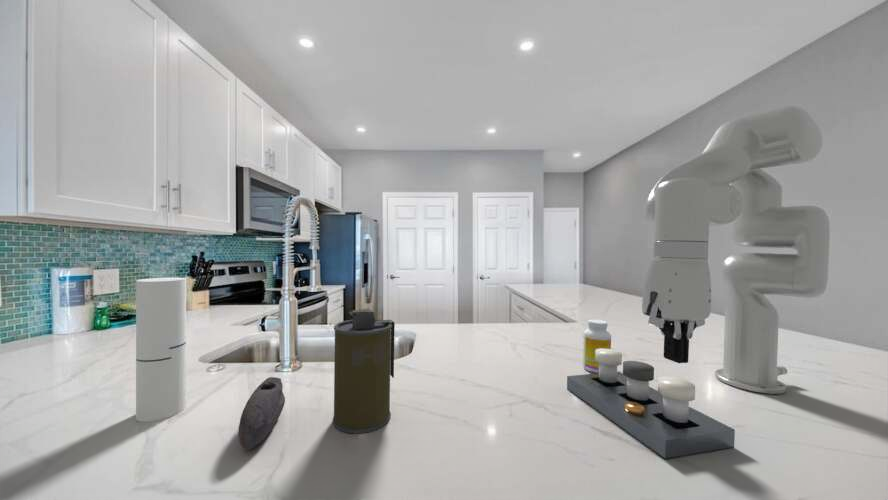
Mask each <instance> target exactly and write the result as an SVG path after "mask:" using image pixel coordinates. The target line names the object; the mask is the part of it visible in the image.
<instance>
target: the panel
mask: <svg viewBox="0 0 888 500" xmlns="http://www.w3.org/2000/svg"><path fill="white" fill-rule="evenodd" d="M566 389H567V390H568V391H569V392H570V393H571V394H573V395H575V396H576V397H577V398H579V399H580V400H581V401H583V402H584V403H585V404H587V405H588V406H590V407H591V408H592V407H593V408H592V409H594V410H595V409H596V410H595V411H596V412H598V413H599V412H600V413H599V414H601V415H602V414H603V415H602V416H604V417H605V416H606V417H607V418H606V417H605V418H606V419H608V420H609V419H610V420H611V421H610V420H609V421H610V422H612V423H613V422H614V423H613V424H615V425H616V426H617V427H619V428H620V429H621V430H623V431H624V432H626V433H628V434H629V435H630V436H631V437H633V438H634V439H635V440H637V441H638V442H640V444H642V445H644V446H645V447H647V448H648V449H650V451H652V452H654V454H656V455H658V456H659V457H660V458H662V459H663V460H665V461H666V460H671V459H677V458H682V457H688V456H695V455H698V454H706V453H711V452H718V451H723V450H729V449H735V438H736V437H735V434H736V430H735V429H734V428H733V427H731V426H729V425H727V424H725V423H722V422H720V421H719V420H717V419H714V418H713V417H710V416H709V415H707V414H705V413H704V412H701V411H699V410H696V409H695V408H693V407H691V406H689V411H688V422H686V423H680V422H675V421H672V420H669V419H667V418H666V417H664V416H663V395H662V394H660V393H659V392H658V389H655V388H653V387H651V386H649V390H648V400H637V399H633V398H631V397H629V396H628V395H627V377H626V376H625V375H624V374H623V372H621V371H617V382H616V383H608V382H604V381H602V380H600V379H599V373H589V374H577V375H576V374H575V375H567V376H566Z"/></svg>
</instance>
